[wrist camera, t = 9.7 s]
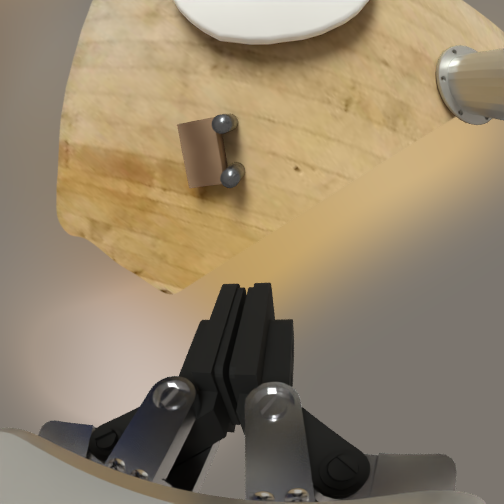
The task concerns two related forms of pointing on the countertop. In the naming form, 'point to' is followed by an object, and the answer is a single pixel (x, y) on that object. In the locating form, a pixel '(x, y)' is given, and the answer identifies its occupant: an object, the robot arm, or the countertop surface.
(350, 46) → the countertop surface
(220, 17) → the white thick disc
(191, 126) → the block
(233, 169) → the bench dogs
